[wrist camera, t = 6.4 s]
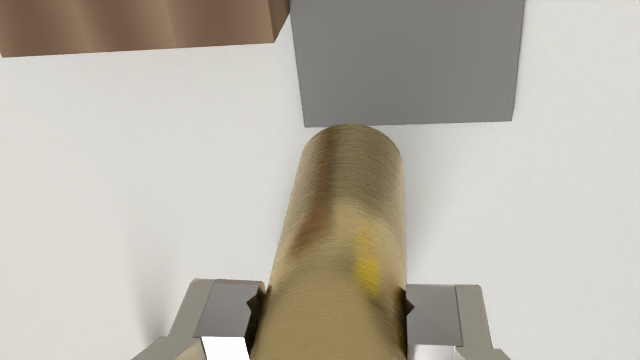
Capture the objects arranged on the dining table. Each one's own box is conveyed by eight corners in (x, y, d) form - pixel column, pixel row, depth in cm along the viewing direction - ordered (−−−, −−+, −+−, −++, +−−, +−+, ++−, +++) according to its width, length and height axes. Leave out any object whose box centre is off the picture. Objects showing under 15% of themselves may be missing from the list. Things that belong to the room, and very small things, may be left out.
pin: (403, 122, 15) (418, 506, 7) (402, 211, 17) (413, 604, 9) (294, 124, 16) (185, 488, 7) (304, 210, 17) (224, 587, 9)
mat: (529, -69, 27) (531, -67, 26) (510, 117, 32) (511, 121, 32) (283, -50, 28) (282, -48, 28) (305, 124, 34) (304, 127, 34)
